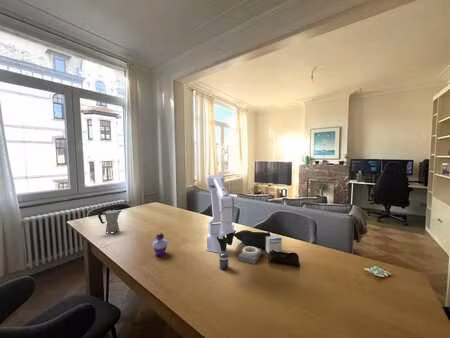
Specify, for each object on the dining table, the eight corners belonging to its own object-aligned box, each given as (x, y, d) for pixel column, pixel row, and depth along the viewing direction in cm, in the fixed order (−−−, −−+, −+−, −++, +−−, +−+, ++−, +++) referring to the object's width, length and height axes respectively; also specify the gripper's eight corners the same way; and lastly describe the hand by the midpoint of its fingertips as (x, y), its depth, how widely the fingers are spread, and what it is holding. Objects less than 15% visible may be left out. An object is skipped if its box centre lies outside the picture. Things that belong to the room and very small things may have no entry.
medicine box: (269, 254, 117) (269, 239, 116) (265, 251, 121) (265, 236, 121) (281, 252, 119) (282, 237, 118) (277, 249, 123) (277, 234, 123)
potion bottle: (171, 251, 121) (170, 231, 121) (163, 258, 113) (162, 237, 112) (158, 250, 124) (157, 230, 123) (149, 256, 115) (148, 235, 115)
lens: (217, 269, 102) (217, 255, 102) (221, 264, 106) (221, 251, 106) (226, 271, 100) (226, 256, 100) (229, 266, 104) (229, 252, 104)
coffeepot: (120, 227, 163) (119, 205, 161) (123, 231, 155) (122, 207, 154) (97, 232, 153) (96, 208, 152) (100, 236, 146) (98, 211, 144)
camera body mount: (238, 260, 110) (238, 253, 110) (246, 250, 122) (246, 243, 122) (255, 264, 107) (255, 256, 106) (261, 253, 118) (261, 246, 118)
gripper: (228, 226, 94) (228, 255, 95) (239, 217, 107) (239, 243, 108) (214, 224, 97) (214, 253, 98) (226, 216, 110) (226, 241, 111)
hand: (226, 247), depth 103 cm, fingers open, 7 cm apart
